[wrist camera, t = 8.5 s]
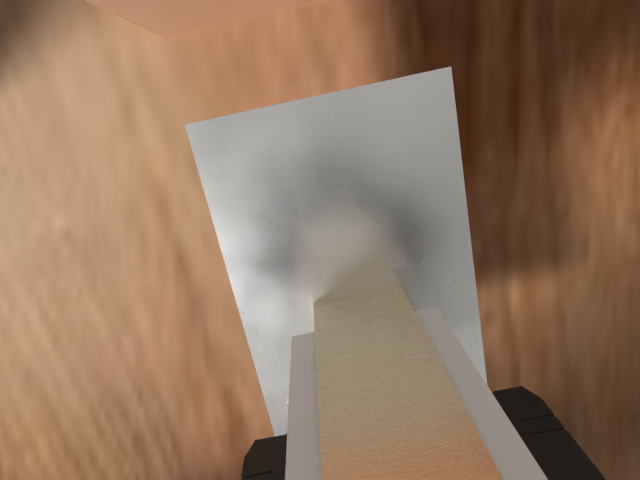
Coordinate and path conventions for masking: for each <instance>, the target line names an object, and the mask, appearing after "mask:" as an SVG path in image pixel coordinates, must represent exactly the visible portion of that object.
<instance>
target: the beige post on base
mask: <svg viewBox="0 0 640 480" xmlns="http://www.w3.org/2000/svg"><path fill="white" fill-rule="evenodd" d="M185 127H186V130H187V134H188V137H189V141H190V144H191V148H192V151H193V154H194V158H195V161H196V165H197V168H198V172H199V175H200V179H201V182H202V186H203V189H204V192H205V196H206V199H207V203H208V206H209V210H210V213H211V217H212V220H213V224H214V227H215V230H216V234H217V237H218V241H219V244H220V248H221V251H222V255H223V258H224V262H225V265H226V268H227V272H228V275H229V279H230V282H231V286H232V289H233V293H234V296H235V300H236V303H237V306H238V310H239V313H240V317H241V320H242V324H243V327H244V331H245V334H246V337H247V341H248V344H249V348H250V351H251V355H252V358H253V362H254V365H255V369H256V372H257V375H258V379H259V382H260V386H261V389H262V393H263V396H264V400H265V403H266V407H267V410H268V413H269V417H270V420H271V424H272V427H273V431H274V434H275V436H280V435H285V434H287V427H288V406H289V384H290V363H291V342H292V336H297V335H302V334H307V333H312V332H315V352H316V373H317V393H318V414H319V434H320V455H321V476H322V480H503V479H502V477H501V475H500V473H499V472H498V470H497V468H496V466H495V464H494V462H493V460H492V458H491V456H490V454H489V453H488V451H487V449H486V447H485V445H484V443H483V441H482V439H481V437H480V435H479V433H478V432H477V430H476V428H475V426H474V424H473V422H472V420H471V418H470V416H469V414H468V413H467V411H466V409H465V407H464V405H463V403H462V401H461V399H460V397H459V395H458V394H457V392H456V390H455V388H454V386H453V384H452V382H451V380H450V378H449V376H448V374H447V373H446V371H445V369H444V367H443V365H442V363H441V361H440V359H439V357H438V355H437V354H436V352H435V350H434V348H433V346H432V344H431V342H430V340H429V338H428V336H427V335H426V333H425V331H424V329H423V327H422V325H421V323H420V321H419V319H418V317H417V315H416V314H415V311H420V310H424V309H429V308H434V307H437V308H438V309H439V311H440V313H441V314H442V316H443V317H444V319H445V320H446V322H447V323H448V325H449V327H450V328H451V330H452V331H453V333H454V334H455V336H456V337H457V339H458V341H459V342H460V344H461V345H462V347H463V348H464V350H465V351H466V353H467V355H468V356H469V358H470V359H471V361H472V362H473V364H474V365H475V367H476V369H477V370H478V372H479V373H480V375H481V376H482V378H483V379H484V381H485V383H486V384H487V378H486V369H485V360H484V351H483V342H482V333H481V325H480V316H479V307H478V298H477V289H476V280H475V272H474V263H473V254H472V245H471V236H470V227H469V219H468V210H467V201H466V192H465V183H464V174H463V166H462V157H461V148H460V139H459V130H458V121H457V112H456V104H455V95H454V86H453V77H452V68H451V67H446V68H441V69H437V70H432V71H428V72H423V73H419V74H414V75H409V76H405V77H400V78H396V79H391V80H387V81H382V82H377V83H373V84H368V85H364V86H359V87H354V88H350V89H345V90H341V91H336V92H332V93H327V94H322V95H318V96H313V97H309V98H304V99H300V100H295V101H290V102H286V103H281V104H277V105H272V106H268V107H263V108H258V109H254V110H249V111H245V112H240V113H236V114H231V115H226V116H222V117H217V118H213V119H208V120H204V121H199V122H194V123H190V124H185Z"/></svg>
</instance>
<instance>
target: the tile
mask: <svg viewBox="0 0 640 480" xmlns="http://www.w3.org/2000/svg"><path fill="white" fill-rule="evenodd" d="M84 1H87V2H89V3H91V4H93V5H95V6H97V7H100V8H102V9H104V10H106V11H108V12H110V13H112V14H115V15H117V16H119V17H121V18H123V19H125V20H128V21H130V22H132V23H134V24H136V25H138V26H140V27H143V28H145V29H147V30H149V31H151V32H153V33H156V34H158V35H160V36H162V37H164V38H166V39H168V38H173V37H177V36H181V35H186V34H190V33H194V32H199V31H203V30H207V29H212V28H216V27H220V26H225V25H229V24H233V23H238V22H242V21H246V20H251V19H255V18H259V17H264V16H268V15H272V14H277V13H281V12H285V11H290V10H294V9H298V8H303V7H307V6H312V5H316V4H320V3H325V2H329V1H333V0H84Z"/></svg>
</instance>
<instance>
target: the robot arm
mask: <svg viewBox="0 0 640 480" xmlns="http://www.w3.org/2000/svg"><path fill="white" fill-rule="evenodd" d="M415 314H416V315H417V317H418V319H419V321H420V323H421V325H422V327H423V329H424V331H425V333H426V335H427V336H428V338H429V340H430V342H431V344H432V346H433V348H434V350H435V352H436V354H437V355H438V357H439V359H440V361H441V363H442V365H443V367H444V369H445V371H446V373H447V374H448V376H449V378H450V380H451V382H452V384H453V386H454V388H455V390H456V392H457V394H458V395H459V397H460V399H461V401H462V403H463V405H464V407H465V409H466V411H467V413H468V414H469V416H470V418H471V420H472V422H473V424H474V426H475V428H476V430H477V432H478V433H479V435H480V437H481V439H482V441H483V443H484V445H485V447H486V449H487V451H488V453H489V454H490V456H491V458H492V460H493V462H494V464H495V466H496V468H497V470H498V472H499V473H500V475H501V477H502V479H503V480H606V479H605V478H604V477H603V476H602V474H601V473H600V472H599V471H598V469H597V468H596V467H595V466H594V464H593V463H592V462H591V460H590V459H589V458H588V457H587V455H586V454H585V453H584V452H583V450H582V449H581V448H580V447H579V445H578V444H577V443H576V442H575V440H574V439H573V438H572V437H571V435H570V434H569V433H568V432H567V431H565V429H564V426H563V425H562V424H561V423H560V421H559V420H558V419H557V418H556V417H554V414H553V413H552V411H551V410H550V409H549V408H548V406H547V405H546V404H545V403H544V401H543V400H542V399H541V398H540V397H538V396H537V395H535V394H534V393H532V392H530V391H529V390H527V389H525V388H524V387H522V386H520V387H515V388H510V389H505V390H500V391H495V392H491V390H490V389H489V387H488V386H487V384H486V383H485V381H484V379H483V378H482V376H481V375H480V373H479V372H478V370H477V369H476V367H475V365H474V364H473V362H472V361H471V359H470V358H469V356H468V355H467V353H466V351H465V350H464V348H463V347H462V345H461V344H460V342H459V341H458V339H457V337H456V336H455V334H454V333H453V331H452V330H451V328H450V327H449V325H448V323H447V322H446V320H445V319H444V317H443V316H442V314H441V313H440V311H439V309H438V308H437V307H434V308H429V309H424V310H420V311H415ZM241 477H242V480H322V476H321V455H320V434H319V414H318V393H317V373H316V352H315V332H312V333H307V334H302V335H297V336H292V342H291V363H290V384H289V406H288V427H287V434H285V435H280V436H275V437H270V438H265V439H260V440H255V442H254V443H253V445H252V446H251V448H250V450H249V451H248V453H247V455H246V456H245V458H244V464H243V470H242V476H241Z"/></svg>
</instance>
